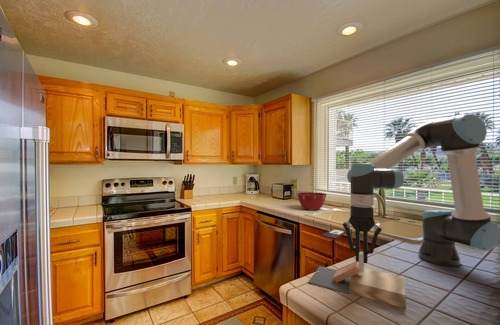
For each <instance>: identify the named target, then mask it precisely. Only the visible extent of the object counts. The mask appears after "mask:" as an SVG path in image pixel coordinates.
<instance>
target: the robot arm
mask: <svg viewBox="0 0 500 325" xmlns="http://www.w3.org/2000/svg"><path fill="white" fill-rule="evenodd" d="M487 133H488V132H487V127H486V124H485V123H484V121H483V119H481V118H480V117H479V116H478V115H475V114H472V113H471V114H470V113H468V114H467V113H464V114H457V115H454V116H449V117H445V118H439V119H433V120H429V121H427V122H425V123H423V124H420V125H419V126H417V127H415V128H414V129H411V131H409V132H408V133H406V134H405V135H404V136H403V139H401V140H399V141H397V142H396V143H394V144H393V145H392V146H390V147H389V148H387V149H385V150H384V151H383V152H381V153H380V154H378V155H377V156H374V158H372V159H371V160H369V161H367V162H366V163H365V162H355V163H354V162H353V163H352V164H351V166H350V169H349V170H348V172H347V175H346V178H347V181H348V182H349V183H350V204H351V205H350V217H349V219H348V220H347V221H344V222H343V223H342V227H343V228H344V230H345V232H346V233H345V234H346V236H347V241H348V245H349V246H348V247H349V250H350V251H353V252H355V262H357V263H358V265H359V272H361V273H364V268H365V264H367V263H368V259H369V258H368V255H369V254H370V255H372V254H374V251H375V250H374V249H375V247H376V245H377V244H376V243H377V241H378V236H379V234H380V233H381V232H382V231H383V230H382V229H383V227H382V226H380V225H378V224H376V221H375V218H374V217H375V216H374V213H375V211H374V207H373V206H374V204H375V202H374V199H375V198H374V194H375V192H374V190H394V189H400V188H401V187H402V186H403V184H404V180H405V177H404V174H403V172H402V171H401V170H400V169H398V168H394V167H395V166H397V165H398V164H400V163H401V162H403V161H404V160H406V159H407V158H409V157H410V156H411V155H413V154H415V153H416V152H417V153H418V152H422V151H423V150H425V149H428V148H433V147H440V149H441V150H440V151H441V152H442V153H444V154H445V155H446V158H447V164H448V170H449V177H450V182H451V183H450V184H451V189H452V190H451V191H452V197H453V204H454V210H450V209H426V210H424V211H423V214H422V242H421V244H420V246H419V249H418V257H419V258H420V259H422V261H423V260H424V261H425V262H428V263H431V264H435V265H439V266H447V267H457V266H460V265H461V257H460V255H459V252H458V250H457V247H456V244H459V245H462V246H466V247H469V248H472V249H475V250H476V249H477V250H481V251H485V252H486V251H490V250H493V249H494V248H495V247H497V246H498V244H499V242H500V225H499V224H498V223H497V222H495V221H492V219H491V215H490V214H489V213H488V212H487V211H485V210H484V209H485V208H484V202H483V195H482V189H481V182H480V181H481V180H480V175H479V169H478V163H477V162H478V161H477V154H476V152H477V150H479V149H480V148H481V147H480V146H481V145H480V144H481V143H482V142H484V141H485V140H486V136H487ZM351 227H353V229H354V232H355V243H354V239H353V235H352V231H351ZM372 228H373V231H374V233H373V236H372V240H371V244H370V247H369V246H368V245H369V232H370V231H371V230H372ZM361 233H363V234H362V236H363V237H362V238H363V243H362V244H363V247H362V248H363V251H361Z"/></svg>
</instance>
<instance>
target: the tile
mask: <svg viewBox="0 0 500 325" xmlns="http://www.w3.org/2000/svg"><path fill="white" fill-rule="evenodd" d="M337 270H338V269H337ZM358 272H359V262H357V261H355V262H354V263H351V264H349V265H347V266H345V267H342V268H340V269H339V270H338V271H336V273H335V275H334V277H333V278H334V280H335V281H336V283H337V282H339V281H342V280H344V279H346V278H349V277H351V276H353V275H356V274H358Z"/></svg>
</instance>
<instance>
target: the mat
mask: <svg viewBox="0 0 500 325" xmlns="http://www.w3.org/2000/svg"><path fill="white" fill-rule="evenodd" d="M325 268H326V269H325ZM318 271H319V272H318ZM336 271H338V269H333V268H331V267H326V266H321V265H319V266H318V268H316V270H315V272H316V273H315V272H314V273H313V274H312V276H311V277H310V279H309V280H307V283H308V284H310V285H315V286H318V287H321V288H325V289H329V290H332V291H336V292H340V293H342V294H347V295H349V294H350V293H349V281H350V278H351V277H349V278H346V279H344V280H342V281H339V282H337V283H336V281H335V280H334V278H333V277H334V275H335V273H336Z"/></svg>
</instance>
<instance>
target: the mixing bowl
mask: <svg viewBox="0 0 500 325" xmlns="http://www.w3.org/2000/svg"><path fill="white" fill-rule="evenodd" d="M296 194H297V197H298V201H299V203H300V205H301V207H302V208H303V209H304V210H306V209H308V210H307V211H318V209H319V210H320V209H322V207H323V205H324V204H325V200H326V197H327V193H322V192H314V191H313V192H310V191H309V192H308V191H307V192H306V191H305V192H297V193H296Z"/></svg>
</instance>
